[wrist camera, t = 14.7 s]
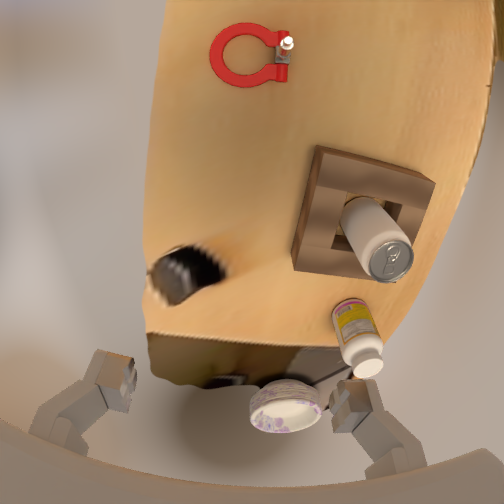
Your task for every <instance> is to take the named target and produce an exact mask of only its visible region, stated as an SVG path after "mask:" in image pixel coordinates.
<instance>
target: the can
mask: <svg viewBox="0 0 504 504" xmlns="http://www.w3.org/2000/svg"><path fill="white" fill-rule="evenodd" d="M340 224H341V227H342V230H343V231H344V233H345V235H346V237H347V239H348V241H349V243H350V245H351V247H352V249H353V250H354V252H355V254H356V256H357V258H358V260H359V262H360V264H361V266H362V267H363V269H364V270H365V272H366V273H367V274H368V275H370V276H371V277H372V278H373V279H374V280H375V281H377V282H380V283H391V282H395V281H397V280H399V279H400V278H402V277H403V276H404V275H405V274H406V273H407V272H408V271H409V269H410V268H411V266H412V263H413V259H414V253H413V250H412V248H411V243H410V241H409V239H408V237H407V236H406V235H405V233H404V232H403V231H402V230H401V228H400V227H399V226H398V225H397V224H396V223H395V221H394V220H393V219H392V218H391V217H390V216H389V215H388V213H387V212H386V211H385V210H384V209H383V208H382V207H381V206H380V205H379V204H378V203H377V202H376V201H375V200H373V199H372V198H369V197H359V198H356V199H353V200H351V201H350V202H349V203H348V204H347V205H346V206H345V207H344V208H343V210H342V214H341V217H340Z"/></svg>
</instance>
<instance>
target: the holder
mask: <svg viewBox="0 0 504 504" xmlns="http://www.w3.org/2000/svg"><path fill="white" fill-rule="evenodd" d="M435 184H436V183H435V182H433V181H432V180H430V179H429V178H427V177H426V176H424V175H423V174H421V173H419V172H416V171H413V170H410V169H406V168H403V167H400V166H396V165H393V164H390V163H386V162H382V161H379V160H375V159H371V158H368V157H364V156H360V155H356V154H352V153H348V152H344V151H340V150H335V149H331V148H326V147H322V146H317V145H316V149H315V154H314V158H313V163H312V167H311V171H310V176H309V180H308V184H307V189H306V193H305V197H304V201H303V205H302V210H301V214H300V218H299V222H298V226H297V230H296V234H295V238H294V242H293V246H292V250H291V257H292V262H293V267H294V271H302V272H309V273H317V274H325V275H333V276H341V277H349V278H358V279H366V280H374V279H373V278H372V277H371V276H370V275H368V274H367V273H366V272H365V270H364V269H363V267H362V266H361V264H360V262H359V260H358V258H357V256H356V254H355V252H354V250H353V249H352V247H351V245H350V243H349V241H348V239H347V237H346V236H340V235H335V234H336V230H337V227H338V224H339V220H340V217H341V214H342V210H343V207H344V204H345V200H346V197H347V193H348V192H351V193H355V194H360V195H365V196H369V197H374V198H378V199H382V200H386V201H387V202H386V205H385V208H384V210H385V211H386V212H387V213H388V215H389V216H390V217H391V218H392V219H393V220H394V221H395V223H396V224H397V225H398V226H399V227H400V228H401V230H402V231H403V232H404V233H405V235H406V236H407V237H408V239H409V241H410V243H411V248H412V246H413V243H414V241H415V238H416V236H417V233H418V231H419V228H420V226H421V223H422V221H423V218H424V215H425V213H426V210H427V207H428V204H429V202H430V199H431V196H432V193H433V190H434V187H435ZM374 281H375V280H374ZM396 282H397V281H395V282H391V283H396Z"/></svg>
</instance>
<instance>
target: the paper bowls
mask: <svg viewBox="0 0 504 504" xmlns="http://www.w3.org/2000/svg"><path fill="white" fill-rule="evenodd" d="M321 415H322V407H321V403H320V397H319V394H318V391H317V390H316V389H314V388H313V387H311V386H308V385H306V384H304V383H302V382H301V381H298V380H294V379H281V380H276V381H273V382H270V383H268V384H267V385H265V386H264V387H263V388H262V389H260V390H259V391H257V392H256V393H255V394H254V395H253V396H252V398H251V400H250V421H251V423H252V425H253V426H255V427H256V428H258V429H260V430H263V431H266V432H272V433H287V432H294V431H298V430H302V429H304V428H307V427H309V426H311V425H313V424H314V423H315V422H317V421H318V420H319V418H320V417H321Z"/></svg>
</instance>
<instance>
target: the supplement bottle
mask: <svg viewBox="0 0 504 504" xmlns="http://www.w3.org/2000/svg"><path fill="white" fill-rule="evenodd" d="M332 321H333V325H334V328H335V332H336V335H337V339H338V342H339V346H340V350H341V354H342V357H343V360H344V361H345V363H347V364H348V365H350V366H352V370H353V373H354V375H355V376H356V377H358V378H367V377H370V376H372V375H375V374H377V373H378V372H379V371H380V370H381V369H382V367H383V360H382V357H381V353H382V350H383V342H382V340H381V337H380V335H379V332H378V330H377V328H376V325H375V323H374V320H373V318H372V316H371V313H370V311H369V309H368V307H367V305H366V303H365V302H363V301H361V300H359V299H350V300H346V301H344V302H342V303H340V304H339V305H338V306H337V307H336V308H335V309H334V311H333V314H332Z"/></svg>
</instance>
